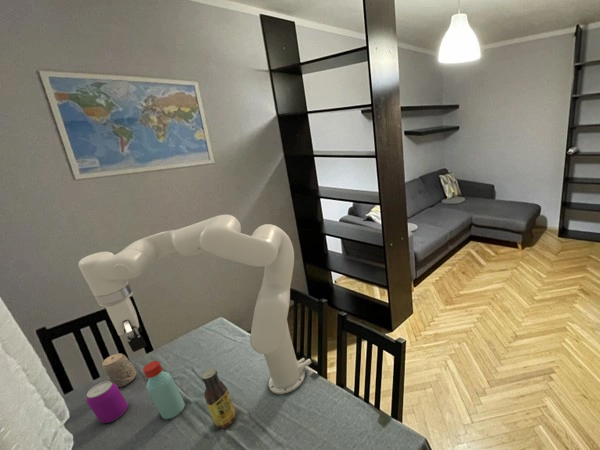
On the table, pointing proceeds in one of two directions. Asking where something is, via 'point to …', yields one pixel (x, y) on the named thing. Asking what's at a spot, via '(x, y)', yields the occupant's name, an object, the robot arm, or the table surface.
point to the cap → (152, 369)
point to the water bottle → (165, 395)
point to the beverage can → (106, 401)
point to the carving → (119, 370)
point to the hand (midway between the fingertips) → (138, 340)
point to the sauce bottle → (218, 399)
